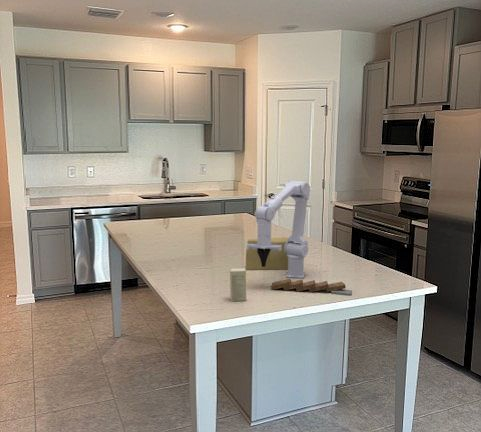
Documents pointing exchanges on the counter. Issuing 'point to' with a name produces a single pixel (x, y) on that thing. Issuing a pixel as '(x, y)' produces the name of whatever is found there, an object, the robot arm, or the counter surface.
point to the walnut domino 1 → (280, 284)
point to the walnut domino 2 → (294, 285)
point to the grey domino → (342, 292)
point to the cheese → (274, 259)
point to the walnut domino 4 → (320, 286)
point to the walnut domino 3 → (307, 286)
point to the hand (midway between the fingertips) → (263, 266)
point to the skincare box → (238, 284)
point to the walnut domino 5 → (335, 286)
